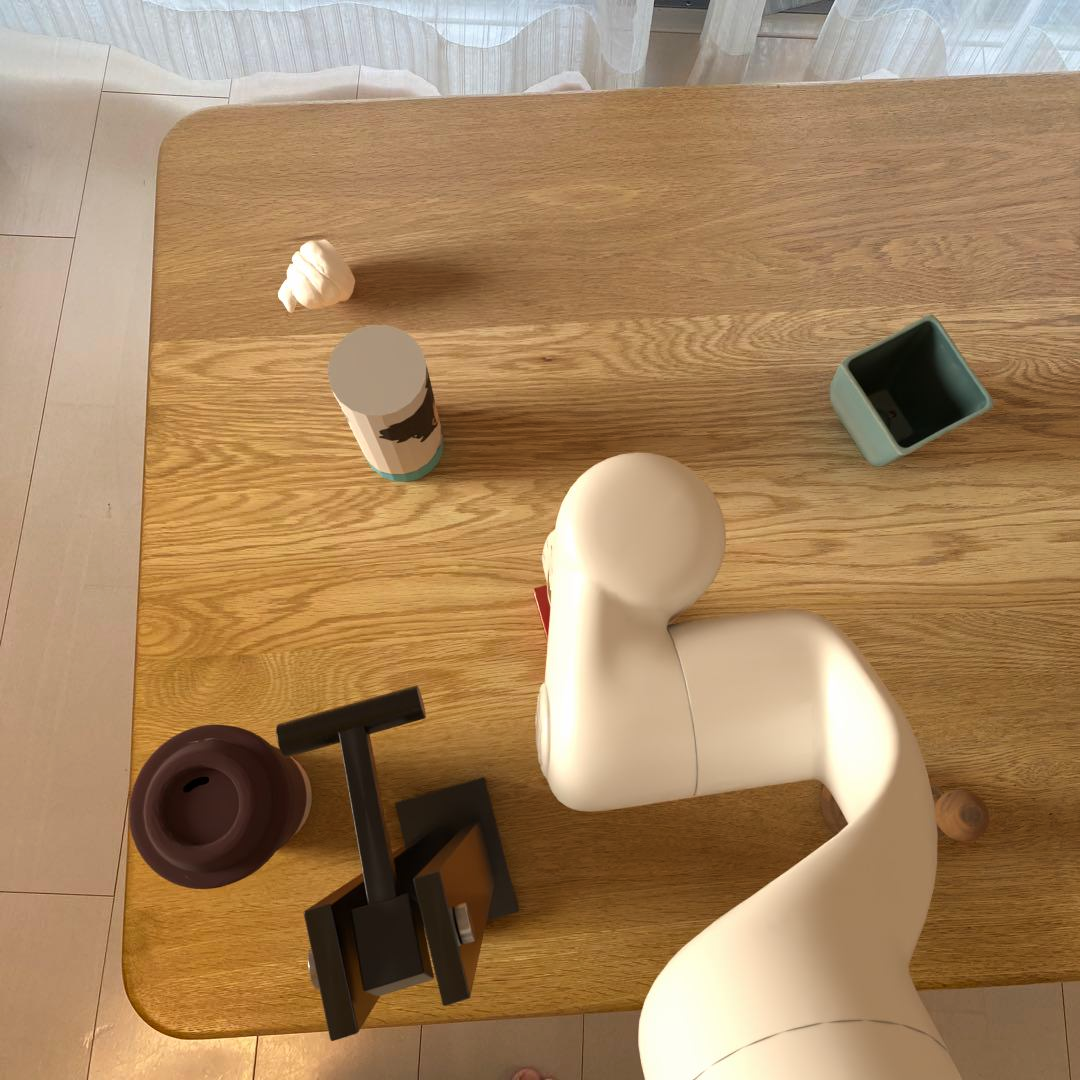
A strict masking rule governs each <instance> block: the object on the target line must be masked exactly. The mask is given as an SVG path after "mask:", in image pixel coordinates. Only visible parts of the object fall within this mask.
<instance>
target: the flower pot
mask: <svg viewBox="0 0 1080 1080" xmlns="http://www.w3.org/2000/svg"><path fill="white" fill-rule="evenodd" d="M828 394H829V401H830V404H831V407H832V409H833V410H834V413H835V414H836V416H837V417H838V419H839V421H840V422H841V424H842V425H843V426H844V428H845V429H846V431H847V433H849V436H850V437H851V439H852V440H853V442H854V443H855V445H856V447H857V448H858V450H859V451H860V453H861V454H862V456H863V458H864V459H865V460H866V461H867V463H869V464H870V465H871V466H873V467H875V468H876V467H877V468H883V467H886V466H889V465H891V464H893V463H895V462H896V461H898V460H900V459H902V458H904V457H905V456H908V455H910V454H912V453H914V452H915V451H917V450H919V449H920V448H923V447H924V446H927V444H930V443H932V442H934V441H936V440H937V439H939V438H941V437H943V436H945V435H947V434H948V433H951V432H952V431H954V430H956V429H958V428H960V427H962V426H964V425H966V424H967V423H970V422H971V421H973V420H975V419H976V418H979V417H981V416H983V415H984V414H986V413H988V412H989V411H991V410H993V409H994V407H995V406H996V405H995V401H994V399H993V397H992V395H991V394H990V393H989V391H988V390H987V389H986V387H985V386H984V384H983V382H982V381H981V380H980V379H979V377H978V376H977V374H976V373H975V372H974V370H973V369H972V368H971V366H970V364H969V363H968V362H967V360H966V359H965V357H964V356H963V354H962V353H961V351H960V350H959V348H958V347H957V345H956V344H955V342H954V341H953V339H952V338H951V336H950V335H949V333H948V331H946V329H945V327H944V326H943V324H942V323H941V322H940V320H939V319H938V318H937V317H936V316H935V315H934V314H932V313H931V314H929V313H928V314H927V315H924V316H923V317H921V318H919V319H917V320H915V321H914V322H912V323H910V324H908V325H906V326H904V327H902V328H901V329H898V330H897V331H895V332H893V333H891V334H889V335H887V336H885V337H883V338H882V339H880V340H877V341H876V342H873V343H872V344H870V345H868V346H866V347H864V348H862V349H860V350H858V351H856V352H854V353H852V354H849V355H847V356H846V357H844V358H842V360H841V361H840V362H839V365H838V367H837V370H836V372H835V374H834V376H833V379H832V380H831V384H830V387H829V393H828ZM890 413H894V417H893V416H891V415H890Z"/></svg>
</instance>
